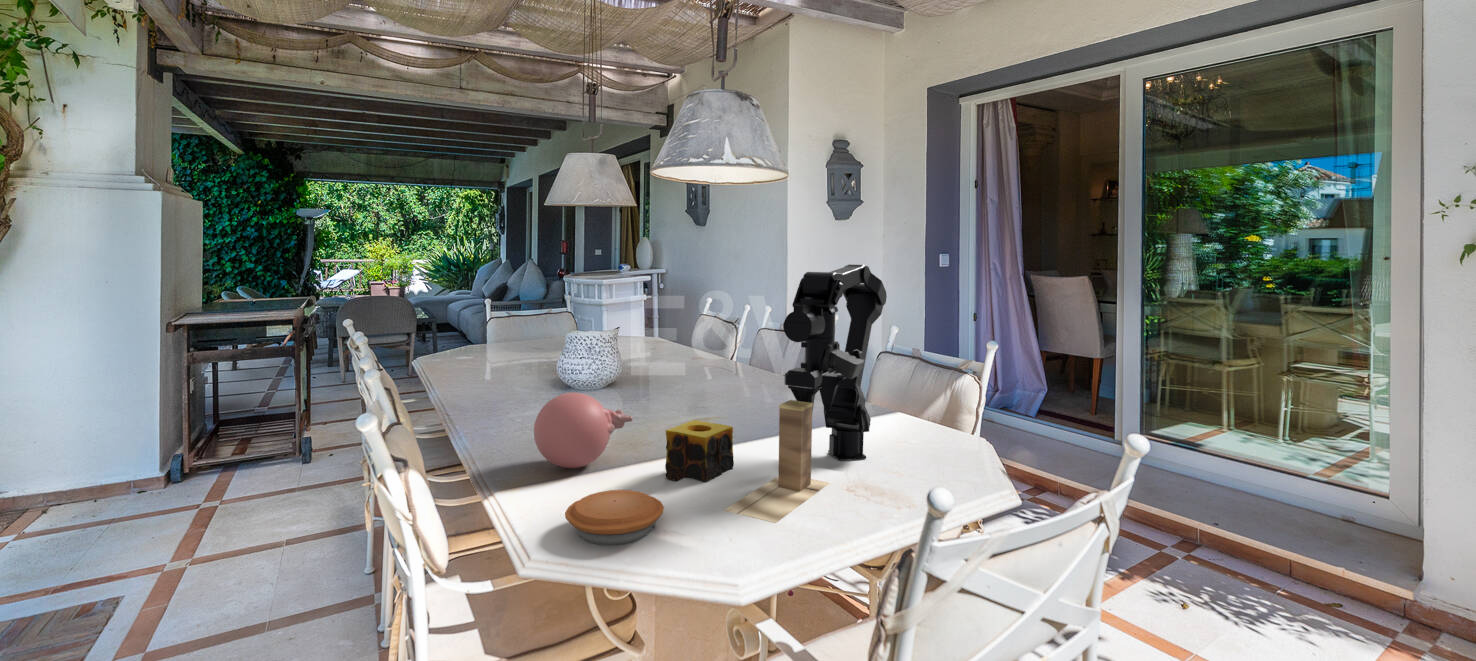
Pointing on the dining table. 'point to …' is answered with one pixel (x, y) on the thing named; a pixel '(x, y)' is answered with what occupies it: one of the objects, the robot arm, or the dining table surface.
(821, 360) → the robot arm
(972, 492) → the dining table surface
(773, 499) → the board
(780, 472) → the tall wooden pillar
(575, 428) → the balloon
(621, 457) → the dining table surface
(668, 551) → the dining table surface
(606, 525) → the pie
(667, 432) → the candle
